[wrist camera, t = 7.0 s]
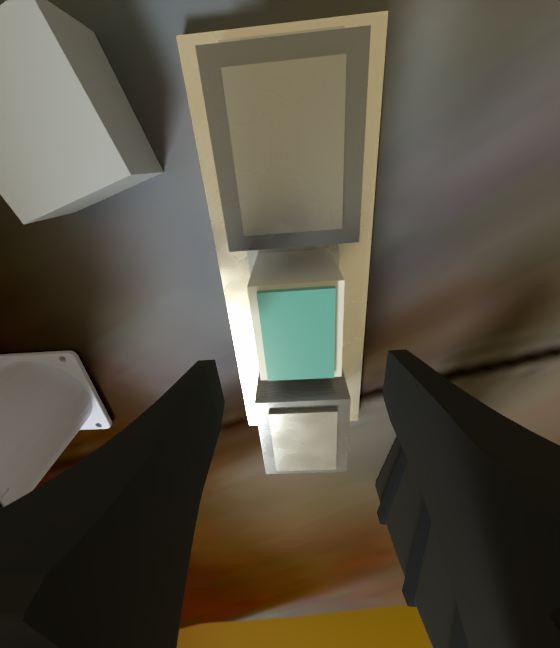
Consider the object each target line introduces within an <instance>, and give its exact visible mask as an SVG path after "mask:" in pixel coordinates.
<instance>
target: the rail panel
mask: <svg viewBox="0 0 560 648" xmlns="http://www.w3.org/2000/svg"><path fill="white" fill-rule="evenodd" d="M387 22H388V11H381V12H372V13H364V14H355V15H347V16H338V17H330V18H321V19H313V20H304V21H296V22H288V23H279V24H271V25H262V26H254V27H245V28H237V29H228V30H220V31H211V32H203V33H194V34H186V35H178V36H176V38H177V44H178V49H179V54H180V60H181V65H182V70H183V76H184V81H185V86H186V92H187V97H188V102H189V108H190V113H191V118H192V124H193V129H194V134H195V140H196V145H197V150H198V156H199V161H200V166H201V172H202V177H203V182H204V188H205V193H206V198H207V204H208V209H209V214H210V220H211V225H212V230H213V236H214V241H215V246H216V252H217V257H218V262H219V268H220V273H221V278H222V284H223V289H224V294H225V300H226V305H227V310H228V316H229V321H230V326H231V332H232V337H233V342H234V348H235V353H236V358H237V364H238V369H239V374H240V380H241V385H242V390H243V396H244V401H245V406H246V412H247V417H248V422H249V425H258V428H259V434H260V440H261V446H262V452H263V458H264V464H265V470H266V474H284V473H318V472H347V459H348V441H349V422H350V421H358V414H359V400H360V387H361V373H362V360H363V346H364V333H365V319H366V306H367V292H368V279H369V265H370V252H371V238H372V225H373V211H374V198H375V184H376V171H377V157H378V144H379V130H380V117H381V103H382V90H383V76H384V63H385V49H386V36H387ZM327 248H329V250H330V252H331V254H332V256H333V258H334V260H335V262H336V264H337V266H338V268H339V270H340V272H341V274H342V276H343V278H344V280H345V285H344V316H343V347H342V377H334V378H319V379H299V380H278V381H268V380H260V373H259V367H258V360H257V353H256V346H255V339H254V332H253V325H252V318H251V311H250V304H249V297H248V290H247V285H248V282H249V279H250V276H251V273H252V270H253V266H254V263H255V260H256V257H257V254H258V253H272V252H286V251H299V250H313V249H327Z"/></svg>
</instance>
